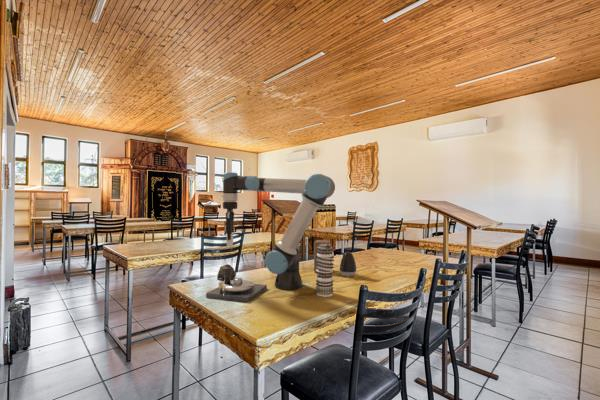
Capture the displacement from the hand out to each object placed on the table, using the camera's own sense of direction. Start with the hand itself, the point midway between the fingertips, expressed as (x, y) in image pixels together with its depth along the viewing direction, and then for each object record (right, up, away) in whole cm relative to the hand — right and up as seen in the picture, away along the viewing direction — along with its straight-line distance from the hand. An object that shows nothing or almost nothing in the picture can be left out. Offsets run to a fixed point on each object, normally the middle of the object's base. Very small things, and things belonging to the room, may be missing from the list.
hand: (229, 245), depth 158 cm
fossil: (-6, -23, +18) cm, 30 cm away
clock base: (+6, -23, -9) cm, 25 cm away
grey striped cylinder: (+52, -23, +38) cm, 69 cm away
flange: (+5, -20, -9) cm, 22 cm away
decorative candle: (+50, -23, -10) cm, 56 cm away
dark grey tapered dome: (+67, -23, +26) cm, 76 cm away
